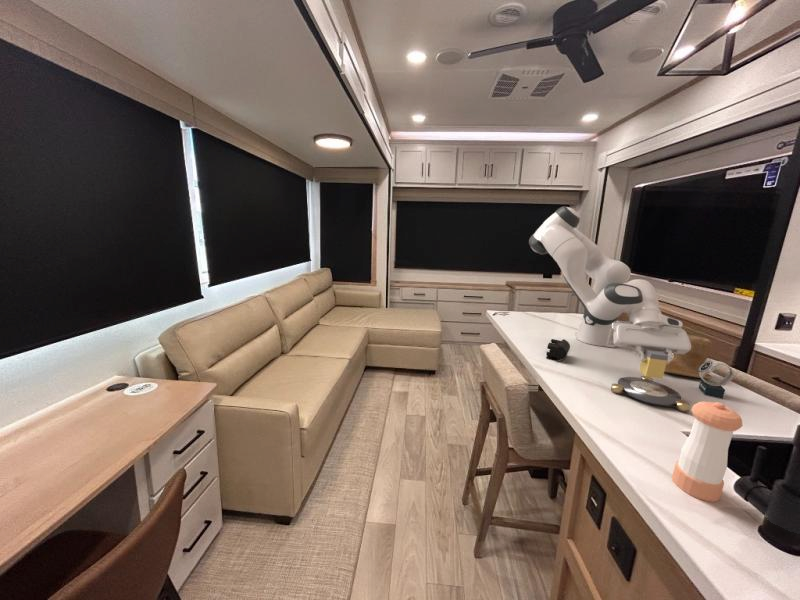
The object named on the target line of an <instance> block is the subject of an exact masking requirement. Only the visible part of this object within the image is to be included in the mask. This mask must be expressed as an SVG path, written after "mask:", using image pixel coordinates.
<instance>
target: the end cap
mask: <svg viewBox="0 0 800 600" xmlns="http://www.w3.org/2000/svg"><path fill="white" fill-rule="evenodd" d="M570 348H571V345H570V343H569V341H567V339H564V338H563V339H562V340H559V339H556V338H555V339H554V338H551V339H550V342H548V343H547V348H546V349H547V350H548V351H546V356H545V359H546V360H551V361H555V362H562V361H563V360H565V358H567V355H568V353H569V352H570Z"/></svg>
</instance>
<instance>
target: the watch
mask: <svg viewBox="0 0 800 600" xmlns="http://www.w3.org/2000/svg"><path fill="white" fill-rule="evenodd" d="M720 365H722V366H725V367H727V368H729V372H728V374H726V376H725V377H724V378H722V379H720V380H719V381H718V382H717V381H711V380H708V379H704V378H703V377H704V376H705V375H706V374H711V373H713V372H714V371H715V369H716V368H717V367H719V366H720ZM698 371H699V375H700V377H701V378H700V381H699V385H698V388H699V390H700V391H701V392H702V394H703V395H704V396H707V397H713V398H716V399H723V398H724V395H725V393H726V389H725V388H724V387H723V386H726V385H727V384H729V383H730V382H731V381H733V379H734V377H735V376H734V375H735V372H734V370H733V368H732V367H731V366H729V365H728V364H727V363H726V362H724V361H719V360H706V361H705V362H704V363H703V364H702V365H701V366H700V367H699V369H698Z"/></svg>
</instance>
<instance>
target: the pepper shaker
mask: <svg viewBox="0 0 800 600" xmlns="http://www.w3.org/2000/svg"><path fill="white" fill-rule="evenodd" d="M690 409H691V413H692V416H693V417H694V421H693V424H692V427H691V431H690V432H689V435H688V437H687V439H686V440H685V442H684V443H683V445H682V447H681V451H680V456H679V459H678V460H677V461H676V462H675V464H674V468H673V472H672V476H671V480H672V482H673V483H674V484H675V485H676V487H678V488H679V489H680V490H682V491H683V492H685V493H687V494H688V495H690V496H692V497H694V498H695V499H699V500H701V501H706V502H718V501H719V500H720V498H721V495H722V492H723V488H724V485H725V481H724V480H723V479H724V476H725V474H726V471H727V468H728V458H729V457H728V456H729V454H728V453H729V447H730V444H731V441H732V438H733V435H734V432H736V431H738V430H740V429H741V428H742V427H743V419H742V417H741V416H740V414H739V413H738V412H736V411H735V410H733V409H731V408H730V407H729V406H728V407H727V405H725V404H724V403H721V402H719V401H718V402H717V401H715V402H713V401H698V402H697V403H695V404H693V405H692V407H691V408H690Z"/></svg>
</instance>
